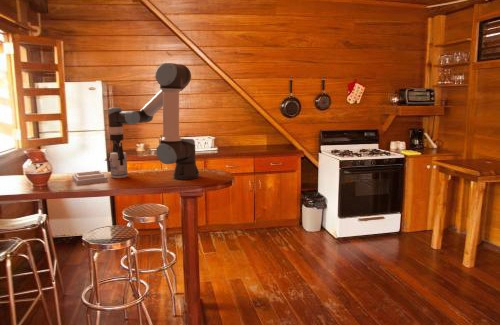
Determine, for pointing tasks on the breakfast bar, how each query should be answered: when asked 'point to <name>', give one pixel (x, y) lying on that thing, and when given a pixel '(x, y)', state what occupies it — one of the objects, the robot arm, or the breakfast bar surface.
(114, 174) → the supplement tub
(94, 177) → the base plate
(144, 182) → the breakfast bar surface
